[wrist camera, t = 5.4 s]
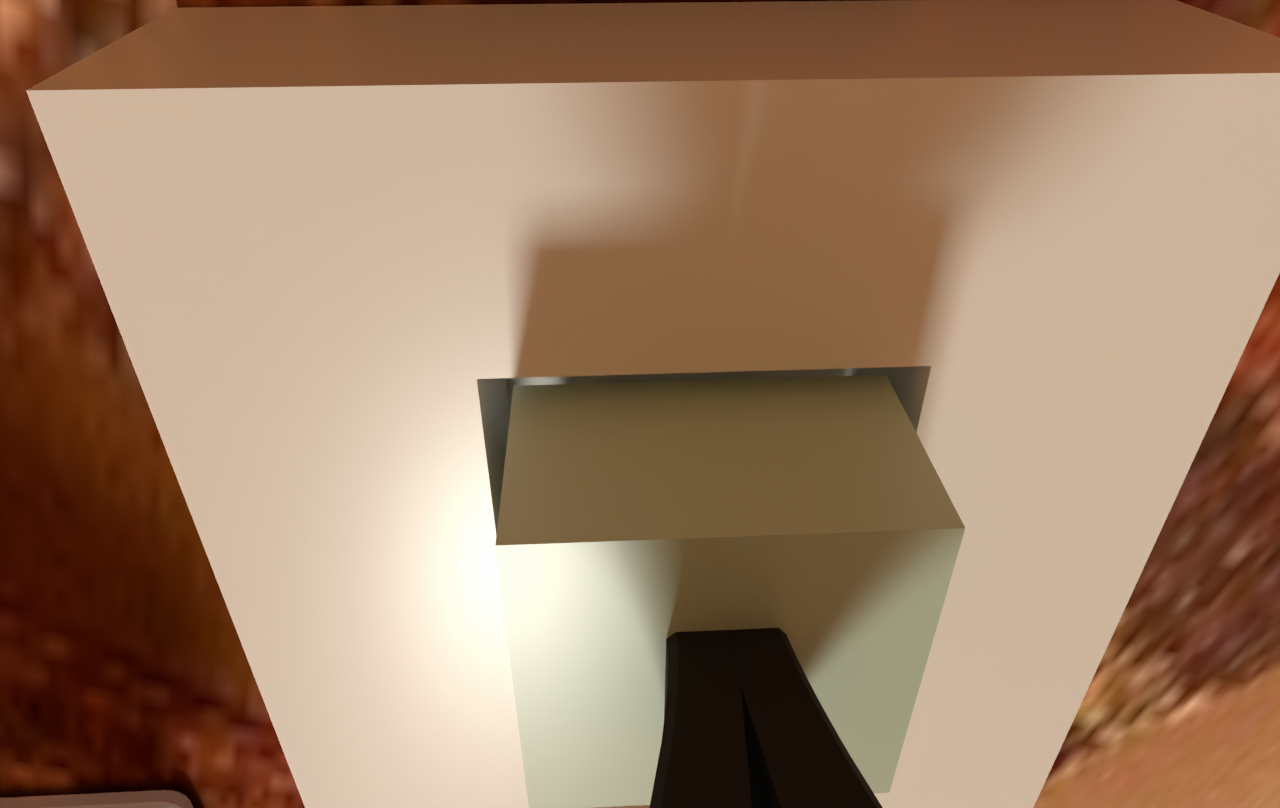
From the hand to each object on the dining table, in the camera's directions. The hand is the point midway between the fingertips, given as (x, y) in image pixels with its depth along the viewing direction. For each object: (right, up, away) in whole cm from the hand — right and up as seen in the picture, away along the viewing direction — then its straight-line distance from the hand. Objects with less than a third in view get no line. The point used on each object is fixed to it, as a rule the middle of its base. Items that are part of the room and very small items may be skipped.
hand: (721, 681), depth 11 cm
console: (0, -1, +8) cm, 9 cm away
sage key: (0, +2, +2) cm, 3 cm away
